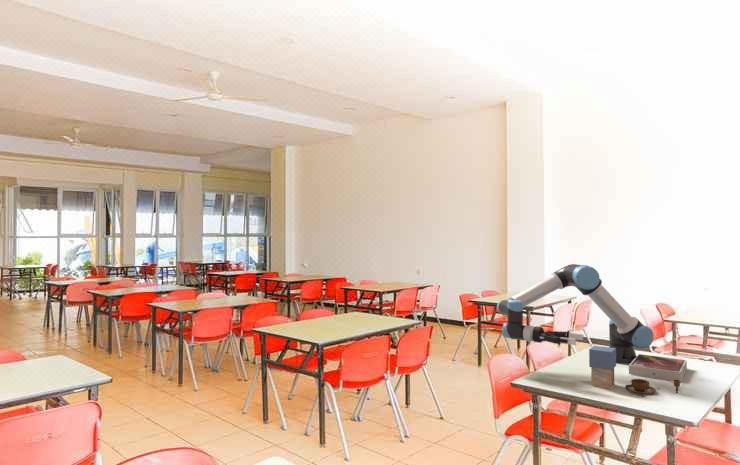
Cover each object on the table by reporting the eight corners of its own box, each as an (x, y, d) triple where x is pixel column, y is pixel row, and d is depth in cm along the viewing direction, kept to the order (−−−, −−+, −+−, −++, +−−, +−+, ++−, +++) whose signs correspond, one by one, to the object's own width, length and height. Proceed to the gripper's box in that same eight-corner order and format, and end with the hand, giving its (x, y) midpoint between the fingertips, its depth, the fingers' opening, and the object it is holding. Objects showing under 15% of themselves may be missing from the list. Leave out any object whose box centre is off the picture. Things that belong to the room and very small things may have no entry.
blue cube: (594, 362, 235) (594, 345, 235) (616, 365, 229) (616, 348, 229) (589, 366, 227) (589, 349, 227) (611, 370, 222) (611, 352, 222)
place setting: (631, 384, 230) (630, 371, 230) (681, 393, 217) (681, 380, 217) (620, 394, 217) (620, 380, 217) (673, 404, 204) (673, 389, 204)
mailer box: (595, 381, 234) (595, 347, 234) (614, 384, 229) (614, 349, 229) (591, 385, 227) (591, 350, 227) (610, 388, 223) (610, 352, 223)
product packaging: (628, 375, 245) (628, 365, 245) (639, 363, 267) (638, 354, 267) (680, 383, 232) (680, 372, 232) (686, 369, 254) (686, 360, 254)
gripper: (542, 337, 257) (586, 343, 244) (525, 345, 237) (572, 352, 224) (542, 323, 257) (586, 327, 244) (525, 330, 237) (572, 335, 224)
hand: (579, 339), depth 234 cm, fingers open, 13 cm apart
